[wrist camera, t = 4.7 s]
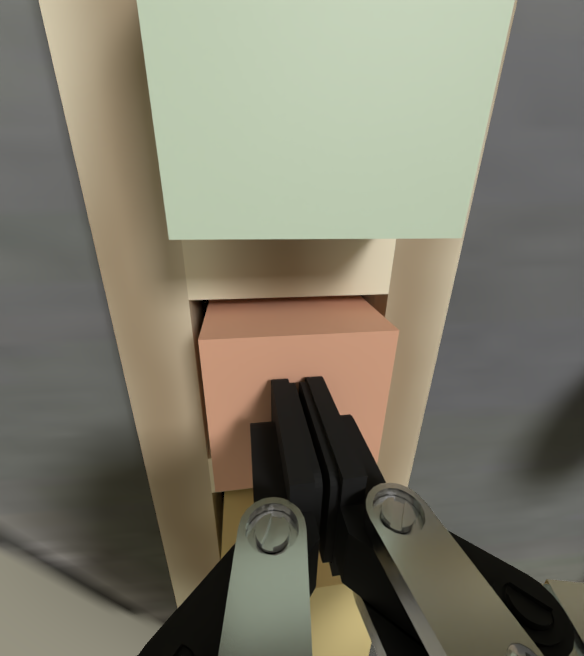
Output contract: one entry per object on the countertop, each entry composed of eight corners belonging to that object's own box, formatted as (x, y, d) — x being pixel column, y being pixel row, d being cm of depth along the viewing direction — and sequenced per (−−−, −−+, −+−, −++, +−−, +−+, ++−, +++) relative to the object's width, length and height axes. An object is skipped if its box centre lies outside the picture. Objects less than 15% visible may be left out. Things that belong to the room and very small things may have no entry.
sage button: (406, -16, 8) (561, -209, 4) (378, 220, 11) (461, 238, 7) (172, -43, 8) (92, -317, 4) (198, 219, 10) (169, 239, 6)
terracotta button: (352, 288, 14) (399, 330, 10) (341, 402, 16) (375, 473, 12) (211, 292, 13) (198, 340, 9) (221, 411, 15) (215, 492, 11)
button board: (465, -43, 10) (545, -126, 8) (369, 526, 21) (387, 575, 19) (66, -97, 9) (-15, -229, 6) (186, 551, 20) (178, 609, 17)
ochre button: (347, 475, 16) (386, 576, 12) (339, 552, 18) (367, 658, 14) (224, 489, 15) (218, 603, 11) (232, 568, 17) (229, 686, 13)
